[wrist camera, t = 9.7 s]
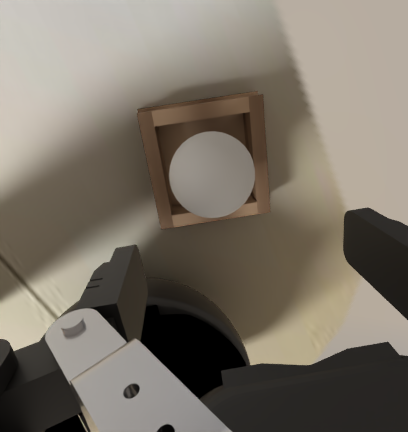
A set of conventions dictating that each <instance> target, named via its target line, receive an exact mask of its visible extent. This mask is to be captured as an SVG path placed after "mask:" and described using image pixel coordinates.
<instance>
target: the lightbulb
mask: <svg viewBox="0 0 408 432" xmlns="http://www.w3.org/2000/svg"><path fill="white" fill-rule="evenodd" d="M169 180H170V186H171V189H172V192H173V194H174V196H175V197H176V199H177V200H178V201H179V203H180V204H181V205H182V206H183V207H184V208H185V209H187V210H188V211H189V212H191V213H193V214H195V215H198V216H201V217H206V218H219V217H223V216H227V215H229V214H231V213H233V212H235V211H236V210H237V209H239V208H240V207H241V206H242V205H243V204H244V203H245V202H246V200H247V199H248V197H249V196H250V194H251V192H252V189H253V186H254V181H255V168H254V163H253V160H252V157H251V155H250V153H249V151H248V150H247V149H246V147H245V146H244V145H243V144H242V143H241V142H240V141H239V140H237V139H236V138H234V137H232V136H231V135H228V134H225V133H222V132H216V131H210V132H203V133H199V134H196V135H194V136H192V137H190V138H189V139H187V140H186V141H185V142H183V143H182V144H181V146H180V147H179V148H178V149H177V151H176V152H175V154H174V156H173V158H172V161H171V165H170V171H169Z"/></svg>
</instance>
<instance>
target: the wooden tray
mask: <svg viewBox="0 0 408 432" xmlns="http://www.w3.org/2000/svg"><path fill="white" fill-rule="evenodd" d="M137 110H138V113H137V117H138V122H139V126H140V131H141V136H142V140H143V145H144V150H145V155H146V159H147V164H148V169H149V173H150V178H151V183H152V188H153V192H154V197H155V202H156V207H157V211H158V216H159V221H160V225H161V229H167V228H174V227H180V226H186V225H193V224H199V223H205V222H212V221H218V220H224V219H230V218H237V217H243V216H249V215H256V214H262V213H268V212H270V198H269V182H268V167H267V151H266V135H265V119H264V104H263V94H262V95H258V91H255V92H248V93H242V94H235V95H228V96H222V97H215V98H209V99H202V100H195V101H189V102H182V103H176V104H169V105H162V106H156V107H149V108H143V109H137ZM210 131H216V132H222V133H225V134H228V135H231V136H232V137H234V138H236V139H237V140H239V141H240V142H241V143H242V144H243V145H244V146H245V147H246V149H247V150H248V151H249V153H250V155H251V157H252V160H253V163H254V168H255V181H254V186H253V189H252V192H251V194H250V196H249V197H248V199H247V200H246V202H245V203H244V204H243V205H242V206H241V207H240V208H239V209H237V210H236V211H235V212H233V213H231V214H229V215H227V216H223V217H219V218H206V217H201V216H198V215H195V214H193V213H191V212H189V211H188V210H187V209H185V208H184V207H183V206H182V205H181V204H180V203H179V201H178V200H177V199H176V197H175V196H174V194H173V192H172V189H171V186H170V180H169V171H170V165H171V161H172V158H173V156H174V154H175V152H176V151H177V149H178V148H179V147H180V146H181V144H182V143H183V142H185V141H186V140H187V139H189V138H190V137H192V136H194V135H196V134H199V133H203V132H210Z"/></svg>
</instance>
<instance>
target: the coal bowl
mask: <svg viewBox="0 0 408 432" xmlns="http://www.w3.org/2000/svg"><path fill="white" fill-rule="evenodd" d="M146 282H147V289H148V297H147V303H146V309H145V315H144V321H143V328H142V334H141V340H140V342H141V343H142V344H143V345H144V346H145V347H146V348H147V349H148V350H149V351H150V352H151V353H152V354H153V355H154V356H155V357H156V358H157V359H158V360H159V361H160V362H161V363H162V364H163V365H164V366H165V367H166V368H167V369H168V370H169V371H170V372H171V373H172V374H173V375H174V376H175V377H176V378H177V379H179V380H180V381H181V382H182V383H183V384H184V385H185V386H186V387H187V388H188V389H189V390H190V391H191V392H192V393H193V394H194V395H195V396H196V397H197V398H198V399H200V398H201V397H203V396H204V395H205V394H207V393H208V392H210V391H212V390H213V389H215V388H217V387H219V386H221V385H223V381H222V374H221V371H222V370H228V369H233V368H239V367H245V366H250V362H249V358H248V355H247V352H246V350H245V347H244V345H243V343H242V340H241V338H240V336H239V335H238V333H237V331H236V329H235V328H234V326H233V325H232V323H231V322H230V320H229V319H228V318H227V317H226V316H225V314H224V313H223V312H222V311H221V310H220V309H219V308H218V307H217V306H216V305H215V304H214V303H213V302H212V301H210V300H209V299H208V298H206V297H205V296H204V295H202V294H201V293H199V292H198V291H196V290H194V289H192V288H190V287H188V286H185V285H183V284H180V283H177V282H174V281H170V280H165V279H157V278H146ZM78 302H79V301H78ZM78 302H76V303H75V304H74V305H73V306H71V307H70V308H69V309H68V310H67V311H65V312H64V313H63V314H62V315H61V316H60V317H62V316H64V315H65V314H67V313H70V312H72V311H74V310H75V308H76V306H77V304H78ZM60 317H59V318H60ZM59 318H58V319H59ZM45 334H46V333H45ZM45 334H44V336H43V337H42V338H41V340H40V341H42V340H44V339H45ZM40 341H39V342H40ZM45 432H86V430H85V428H84V426H83V424H82V422H81V420H80V418H79V416H78V414H77V415H75V416H73V417H71V418H69V419H66V420H64V421H62V422H60V423H58V424H56V425H54V426H52V427H50V428H47V429H46V431H45Z"/></svg>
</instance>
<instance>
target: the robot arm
mask: <svg viewBox="0 0 408 432" xmlns="http://www.w3.org/2000/svg"><path fill="white" fill-rule="evenodd" d="M343 251H344V255H345V258H346V260H347V262H348V263H349V264H350V265H351V266H352V267H353V268H354V269H355V270H356V271H357V272H358V273H359V274H360V275H361V276H362V277H363V278H364V279H365V280H366V281H368V282H369V283H370V284H371V285H372V286H373V287H374V288H375V289H376V290H377V291H378V292H379V293H380V294H381V295H382V296H383V297H384V298H385V299H386V300H387V301H389V303H390V304H392V305H393V306H394V307H395V308H396V309H397V310H398V311H399V312H400V313H401V314H402V315H403V316H404V317H405V318H406V319H407V320H408V226H407V225H405V224H403V223H401V222H399V221H395V220H392V219H388V218H387V217H385V216H383V215H381V214H379V213H378V212H376V211H374V210H372V209H370V208H362V209H356V210H350V211H347V212H346V213H345V217H344V241H343ZM147 297H148V289H147V282H146V277H145V273H144V269H143V265H142V261H141V257H140V253H139V250H138V247H137V245H132V246H126V247H120V248H116V249H115V251H114V253H113V256H112V258H111V260H110V262H106V263H103V264H102V265H101V266H100V267H98V268H97V269H96V270H95V271H94V273H93V275H92V277H91V279H90V282H88V284H87V286H86V289H85V290H84V292H83V294H82V296H81V298H80V300H79V302H78V304H77V306H76V308H75V310H74V311H72V312H70V313H67V314H65V315H64V316H62V317H60V318H59V319H57V320H56V321H55V322H54V323H53V324H52V325H51V326H50V327H49V328H48V330H47V332H46V334H45V339H44V340H42V341H40V342H37V343H35V344H32V345H29V346H27V347H24V348H21V349H19V350H16V351H13V349H12V347H11V345H10V343H9V342H8V341H7V340H4V339H0V432H45V431H46V429H47V428H50V427H52V426H54V425H56V424H58V423H60V422H62V421H64V420H66V419H69V418H71V417H73V416H75V415H77V414H78V416H79V418H80V420H81V422H82V424H83V426H84V428H85V430H86V432H408V356H403V355H399V354H398V353H397V352H396V351H395V349H394V348H393V347H392V346H391V345H390V344H389V342H384V343H379V344H373V345H367V346H361V347H355V348H350V349H346V350H344V351H341V352H339V353H337V354H335V355H333V356H330V357H328V358H326V359H324V360H321V361H319V362H317V363H315V364H312V365H284V364H257V365H251V366H245V367H239V368H233V369H228V370H222V371H221V374H222V381H223V385H221V386H219V387H217V388H215V389H213V390H212V391H210V392H208V393H207V394H205V395H204V396H203V397H201V398H200V399H198V398H197V397H196V396H195V395H194V394H193V393H192V392H191V391H190V390H189V389H188V388H187V387H186V386H185V385H184V384H183V383H182V382H181V381H180V380H179V379H177V378H176V377H175V376H174V375H173V374H172V373H171V372H170V371H169V370H168V369H167V368H166V367H165V366H164V365H163V364H162V363H161V362H160V361H159V360H158V359H157V358H156V357H155V356H154V355H153V354H152V353H151V352H150V351H149V350H148V349H147V348H146V347H145V346H144V345H143V344H142V343H141V342H140V340H141V334H142V328H143V321H144V315H145V309H146V303H147Z"/></svg>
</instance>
